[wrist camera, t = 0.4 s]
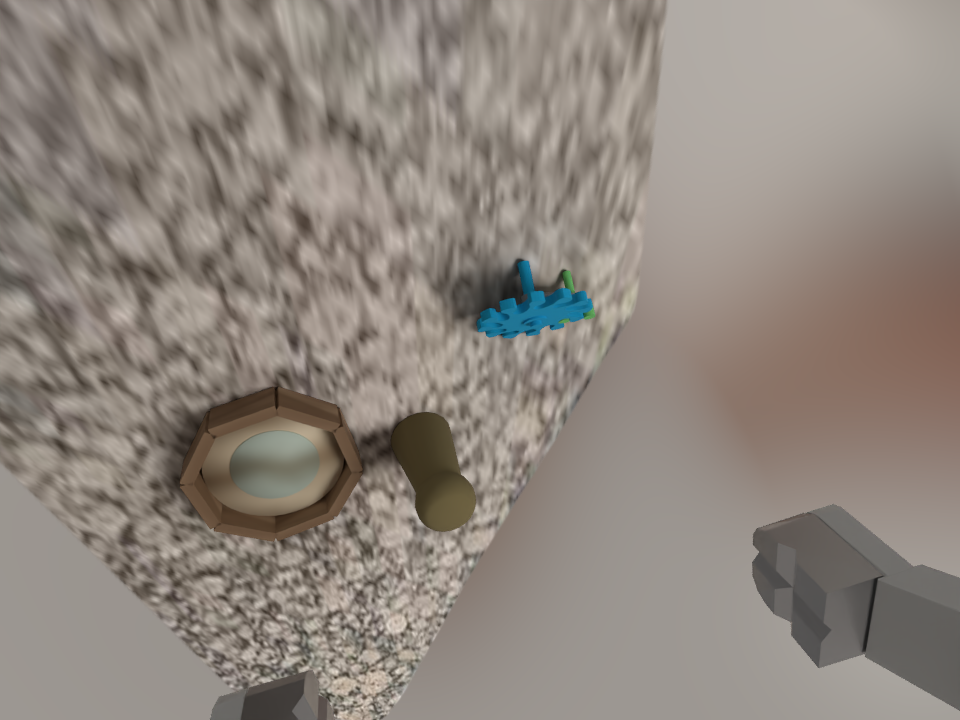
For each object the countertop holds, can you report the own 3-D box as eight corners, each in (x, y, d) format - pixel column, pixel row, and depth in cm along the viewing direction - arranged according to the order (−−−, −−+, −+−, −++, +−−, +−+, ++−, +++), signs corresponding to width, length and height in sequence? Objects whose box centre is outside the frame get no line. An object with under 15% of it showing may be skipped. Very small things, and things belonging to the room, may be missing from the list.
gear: (459, 346, 51) (516, 305, 42) (449, 284, 52) (501, 232, 44) (560, 342, 56) (628, 305, 48) (548, 286, 57) (612, 240, 49)
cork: (448, 406, 56) (483, 479, 47) (452, 453, 59) (487, 531, 50) (386, 420, 54) (411, 499, 45) (395, 468, 57) (419, 551, 48)
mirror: (158, 427, 47) (152, 449, 45) (322, 369, 49) (325, 387, 47) (233, 535, 55) (231, 559, 53) (372, 481, 57) (377, 501, 55)
